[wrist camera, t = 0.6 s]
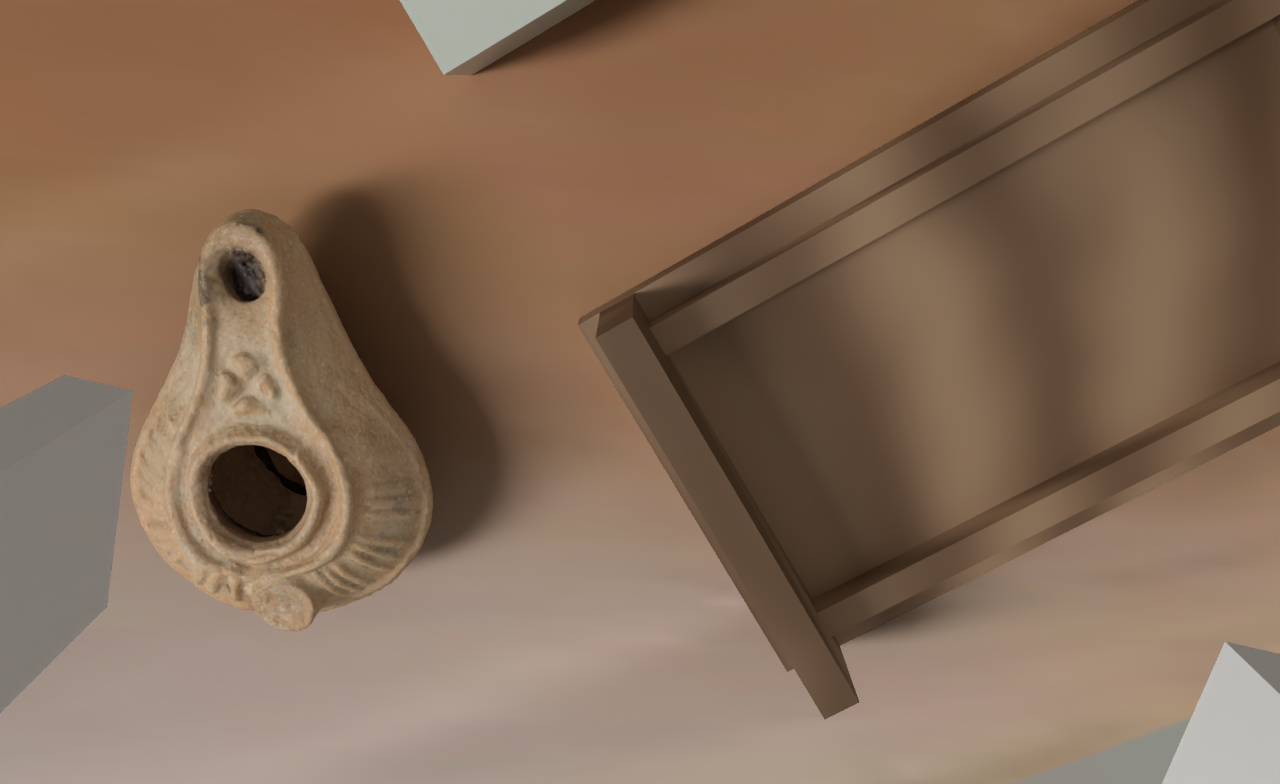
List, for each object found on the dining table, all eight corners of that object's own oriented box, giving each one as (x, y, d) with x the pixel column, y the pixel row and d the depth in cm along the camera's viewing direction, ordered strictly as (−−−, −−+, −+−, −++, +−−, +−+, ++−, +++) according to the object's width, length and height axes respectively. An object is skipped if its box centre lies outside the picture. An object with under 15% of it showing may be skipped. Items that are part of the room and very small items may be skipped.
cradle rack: (783, 656, 38) (801, 730, 34) (579, 318, 35) (570, 351, 30) (1445, 323, 35) (1559, 357, 30) (1290, -86, 31) (1394, -114, 27)
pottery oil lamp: (409, 192, 33) (452, 316, 28) (403, 485, 40) (437, 629, 35) (93, 197, 30) (75, 337, 25) (146, 513, 37) (140, 674, 32)
